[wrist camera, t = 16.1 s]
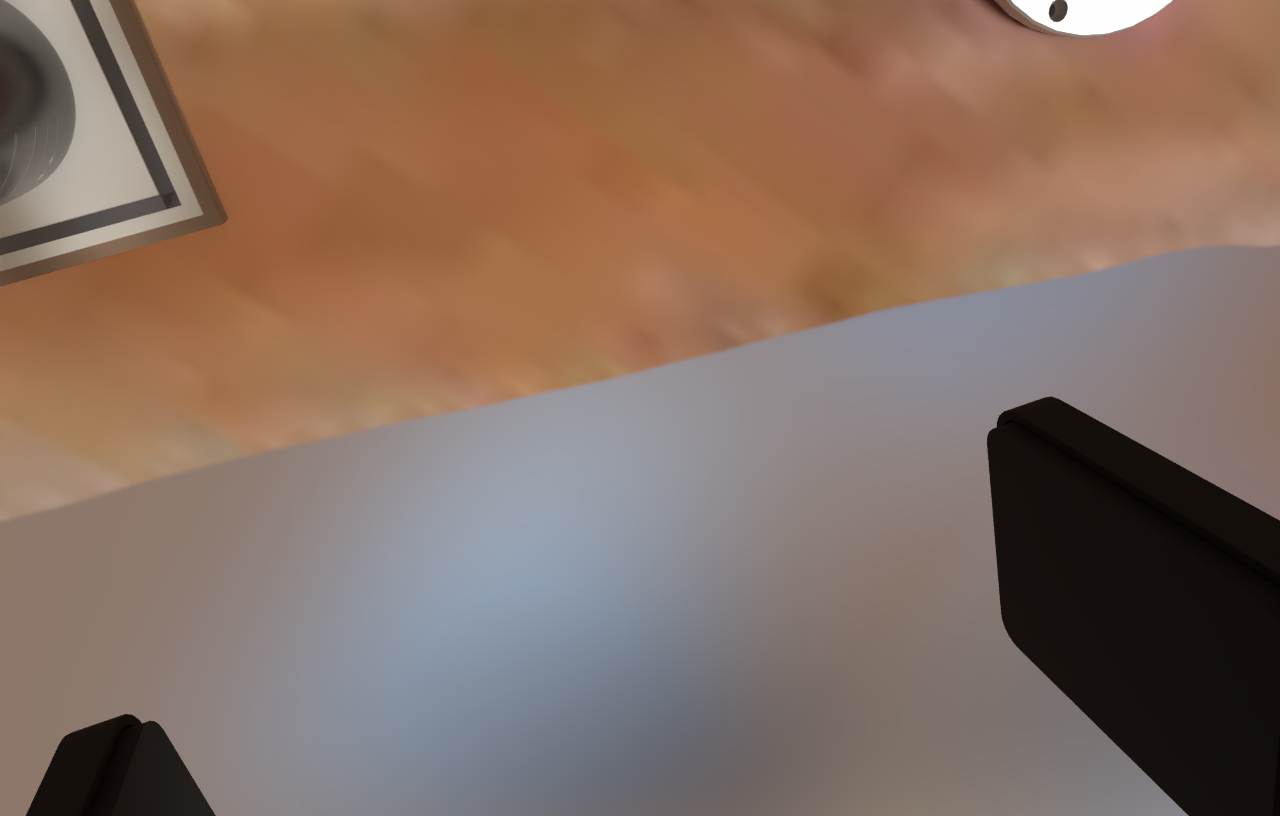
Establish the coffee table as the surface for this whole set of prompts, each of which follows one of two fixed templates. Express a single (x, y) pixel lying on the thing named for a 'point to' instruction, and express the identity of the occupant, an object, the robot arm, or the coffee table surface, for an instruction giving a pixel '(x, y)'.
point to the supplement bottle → (31, 105)
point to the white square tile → (108, 150)
